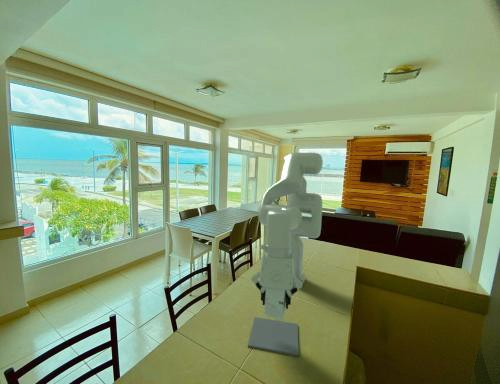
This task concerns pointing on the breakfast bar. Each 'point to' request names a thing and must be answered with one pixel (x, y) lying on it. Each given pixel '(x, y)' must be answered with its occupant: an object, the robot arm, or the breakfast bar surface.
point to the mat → (274, 336)
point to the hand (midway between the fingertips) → (275, 303)
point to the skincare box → (275, 303)
